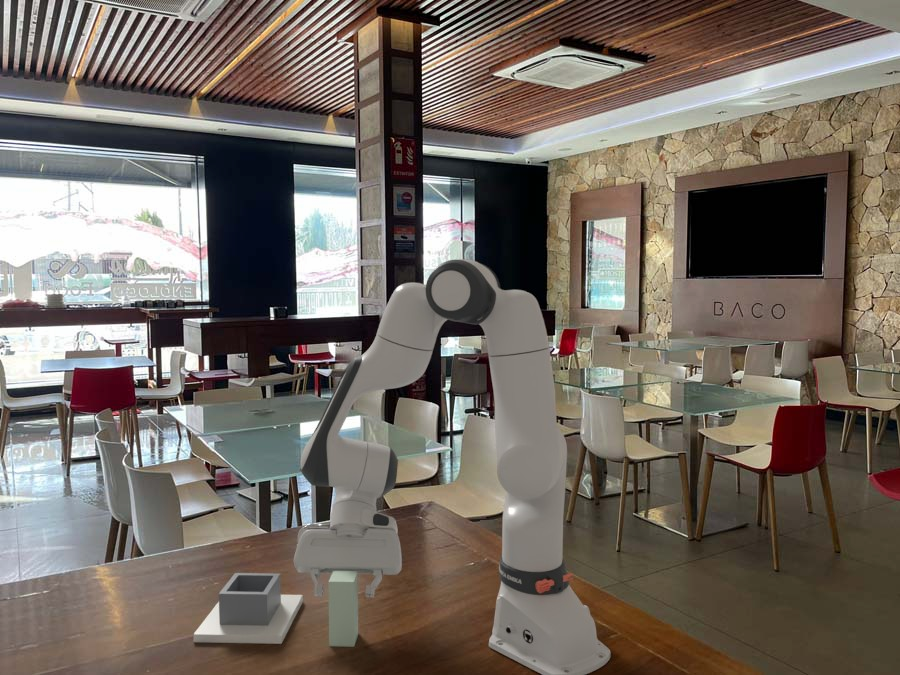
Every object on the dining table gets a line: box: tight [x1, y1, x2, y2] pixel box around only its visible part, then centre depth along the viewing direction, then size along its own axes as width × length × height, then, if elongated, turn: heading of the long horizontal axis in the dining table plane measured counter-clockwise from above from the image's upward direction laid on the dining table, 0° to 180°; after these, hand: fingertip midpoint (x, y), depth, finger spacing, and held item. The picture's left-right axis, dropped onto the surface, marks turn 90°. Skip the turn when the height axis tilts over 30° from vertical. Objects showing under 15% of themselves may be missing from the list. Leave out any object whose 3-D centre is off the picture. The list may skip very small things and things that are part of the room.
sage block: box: [327, 571, 359, 648], centre depth 125 cm, size 4×4×12 cm
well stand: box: [192, 572, 304, 645], centre depth 132 cm, size 16×16×8 cm
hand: (343, 595), depth 126 cm, fingers open, 8 cm apart
